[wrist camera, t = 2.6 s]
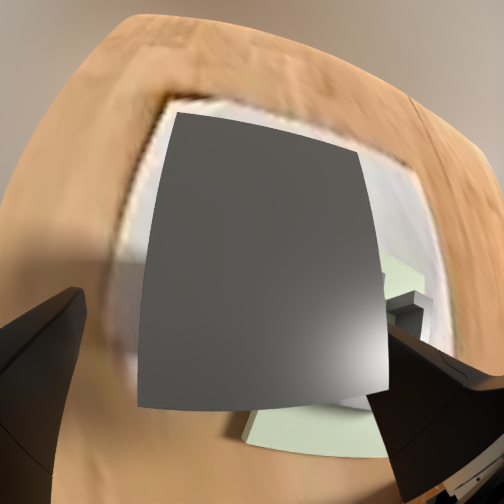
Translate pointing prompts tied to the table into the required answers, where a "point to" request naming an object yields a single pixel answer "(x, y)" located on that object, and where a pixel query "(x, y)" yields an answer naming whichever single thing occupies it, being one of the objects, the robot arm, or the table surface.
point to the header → (353, 409)
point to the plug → (259, 274)
